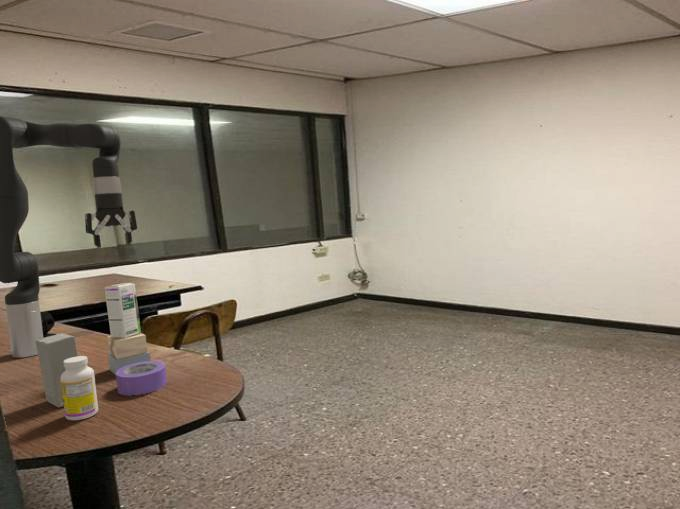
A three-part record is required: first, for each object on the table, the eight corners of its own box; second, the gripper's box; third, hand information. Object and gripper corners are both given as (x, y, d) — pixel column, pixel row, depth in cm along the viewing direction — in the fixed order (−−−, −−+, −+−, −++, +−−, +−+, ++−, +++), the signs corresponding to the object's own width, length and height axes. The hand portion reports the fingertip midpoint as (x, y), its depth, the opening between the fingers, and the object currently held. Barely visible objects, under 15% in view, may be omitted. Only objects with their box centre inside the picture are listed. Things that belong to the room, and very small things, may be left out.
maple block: (109, 353, 145) (107, 336, 145) (138, 347, 150) (136, 330, 150) (117, 359, 139) (115, 341, 138) (147, 352, 144) (145, 335, 143)
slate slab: (109, 370, 146) (107, 353, 146) (142, 363, 151) (140, 346, 151) (117, 378, 139) (115, 360, 138) (151, 370, 144) (149, 352, 144)
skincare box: (86, 400, 123) (79, 335, 121) (53, 410, 118) (45, 342, 116) (73, 392, 129) (66, 330, 127) (41, 401, 124) (34, 337, 122)
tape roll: (147, 397, 123) (145, 377, 122) (107, 395, 126) (104, 375, 126) (176, 380, 134) (174, 361, 134) (138, 378, 138) (137, 360, 137)
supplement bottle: (73, 410, 117) (66, 355, 116) (103, 407, 118) (97, 353, 116) (59, 423, 110) (52, 365, 109) (91, 420, 111) (84, 362, 110)
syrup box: (125, 338, 140) (119, 286, 139) (109, 337, 143) (104, 286, 142) (141, 333, 146) (135, 282, 144) (126, 332, 148) (120, 282, 147)
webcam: (45, 342, 182) (42, 314, 181) (28, 342, 184) (25, 314, 183) (62, 336, 190) (59, 309, 189) (45, 336, 192) (42, 310, 190)
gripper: (128, 192, 162) (133, 243, 164) (79, 194, 153) (85, 248, 155) (136, 191, 156) (141, 244, 158) (85, 192, 148) (91, 249, 149)
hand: (113, 246), depth 157 cm, fingers open, 8 cm apart
